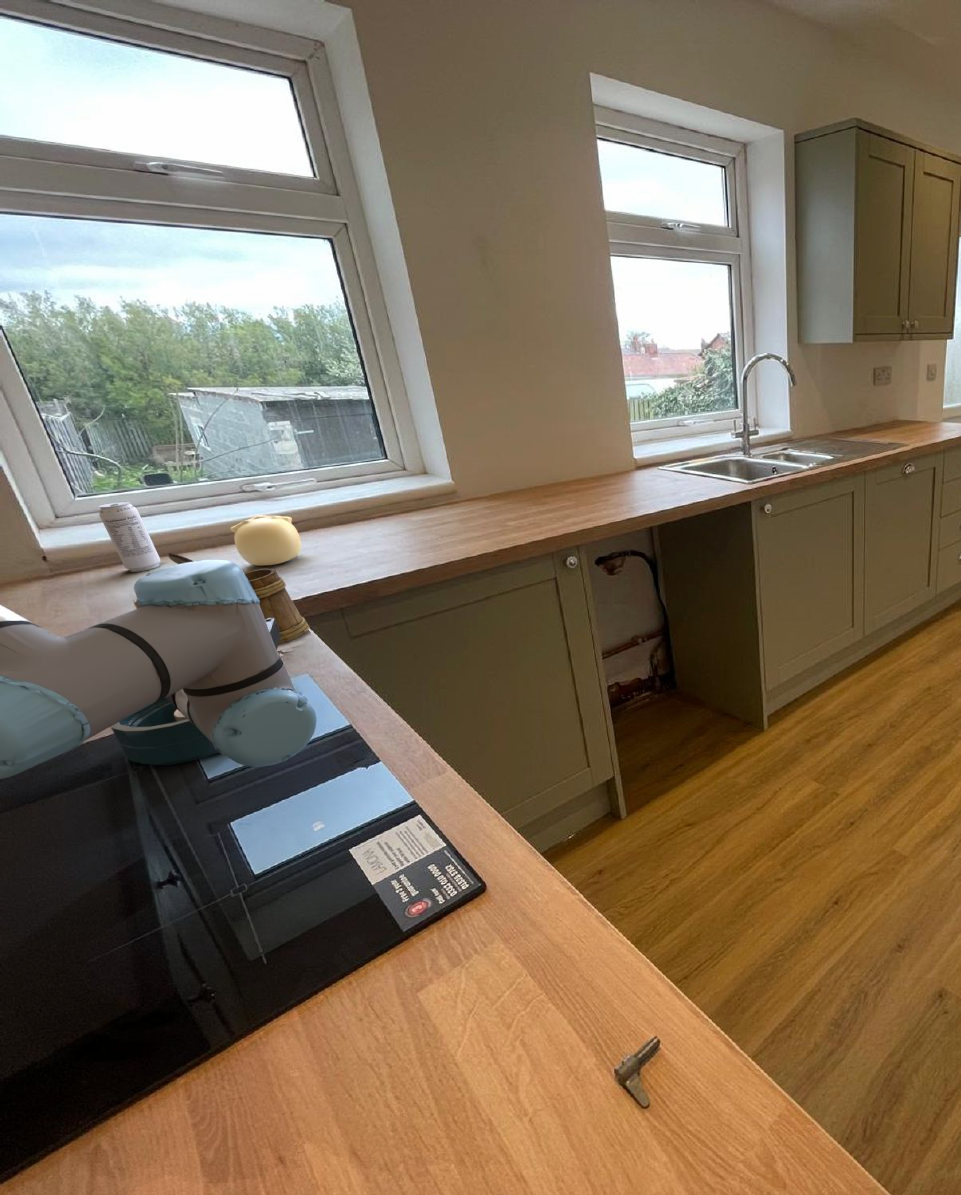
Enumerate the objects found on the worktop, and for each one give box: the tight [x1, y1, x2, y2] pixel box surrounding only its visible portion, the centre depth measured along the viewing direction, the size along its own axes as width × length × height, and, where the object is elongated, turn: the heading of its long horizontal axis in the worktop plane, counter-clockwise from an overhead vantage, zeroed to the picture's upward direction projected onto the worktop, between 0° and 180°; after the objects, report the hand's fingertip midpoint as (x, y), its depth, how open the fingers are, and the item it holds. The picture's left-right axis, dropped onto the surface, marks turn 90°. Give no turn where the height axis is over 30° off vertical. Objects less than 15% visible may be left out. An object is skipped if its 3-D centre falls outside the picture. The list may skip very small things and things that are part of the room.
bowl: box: [110, 700, 220, 766], centre depth 82 cm, size 16×16×6 cm
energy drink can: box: [98, 500, 161, 573], centre depth 144 cm, size 6×6×15 cm
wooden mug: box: [168, 552, 310, 645], centre depth 104 cm, size 9×14×18 cm, turn 155°
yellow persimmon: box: [230, 514, 302, 566], centre depth 145 cm, size 11×12×11 cm
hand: (163, 642), depth 81 cm, fingers open, 12 cm apart
